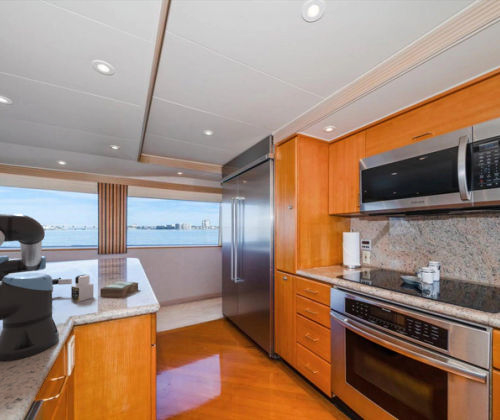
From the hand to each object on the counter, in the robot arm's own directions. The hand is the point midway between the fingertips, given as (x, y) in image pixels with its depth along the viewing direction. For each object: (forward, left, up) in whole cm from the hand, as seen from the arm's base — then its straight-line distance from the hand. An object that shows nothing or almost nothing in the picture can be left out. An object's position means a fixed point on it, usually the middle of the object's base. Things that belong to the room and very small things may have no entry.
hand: (62, 285), depth 122 cm
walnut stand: (+13, -23, -7) cm, 27 cm away
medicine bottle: (+2, -10, -8) cm, 12 cm away
